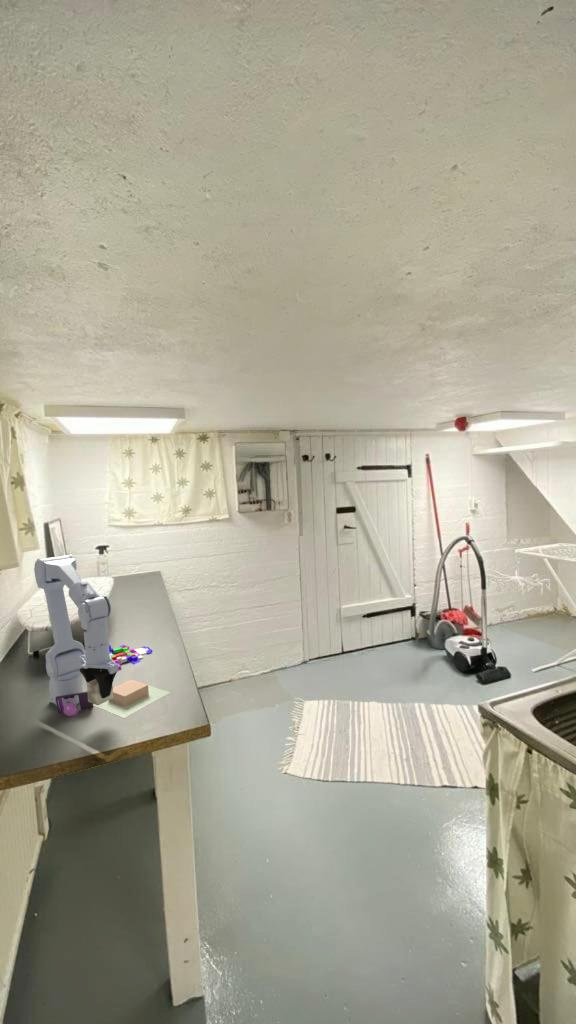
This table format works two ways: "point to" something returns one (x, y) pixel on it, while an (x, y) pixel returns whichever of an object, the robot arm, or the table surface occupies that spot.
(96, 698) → the top brick
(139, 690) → the base brick
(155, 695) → the base plate
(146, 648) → the building block set
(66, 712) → the purple and pink piece
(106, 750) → the table surface
